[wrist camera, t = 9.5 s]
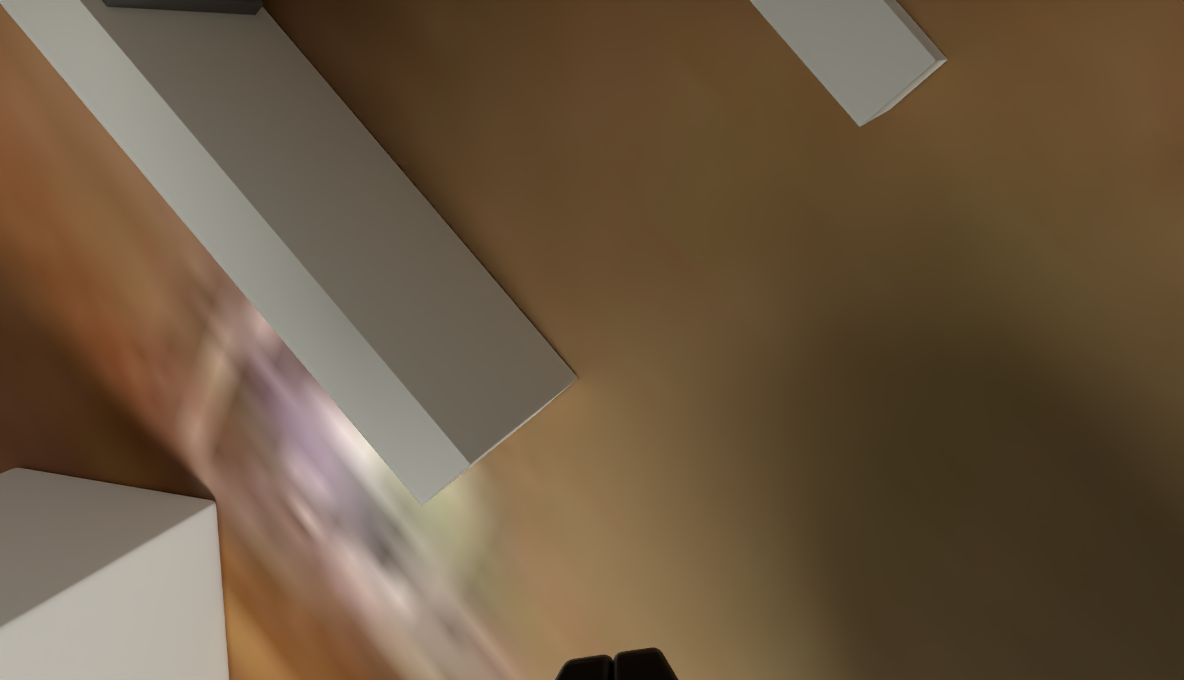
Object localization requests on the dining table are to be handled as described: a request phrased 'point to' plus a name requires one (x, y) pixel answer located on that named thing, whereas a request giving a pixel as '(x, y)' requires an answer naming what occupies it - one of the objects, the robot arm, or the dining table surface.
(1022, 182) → the dining table surface
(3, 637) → the milk
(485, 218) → the dining table surface
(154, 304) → the dining table surface
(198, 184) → the chute
